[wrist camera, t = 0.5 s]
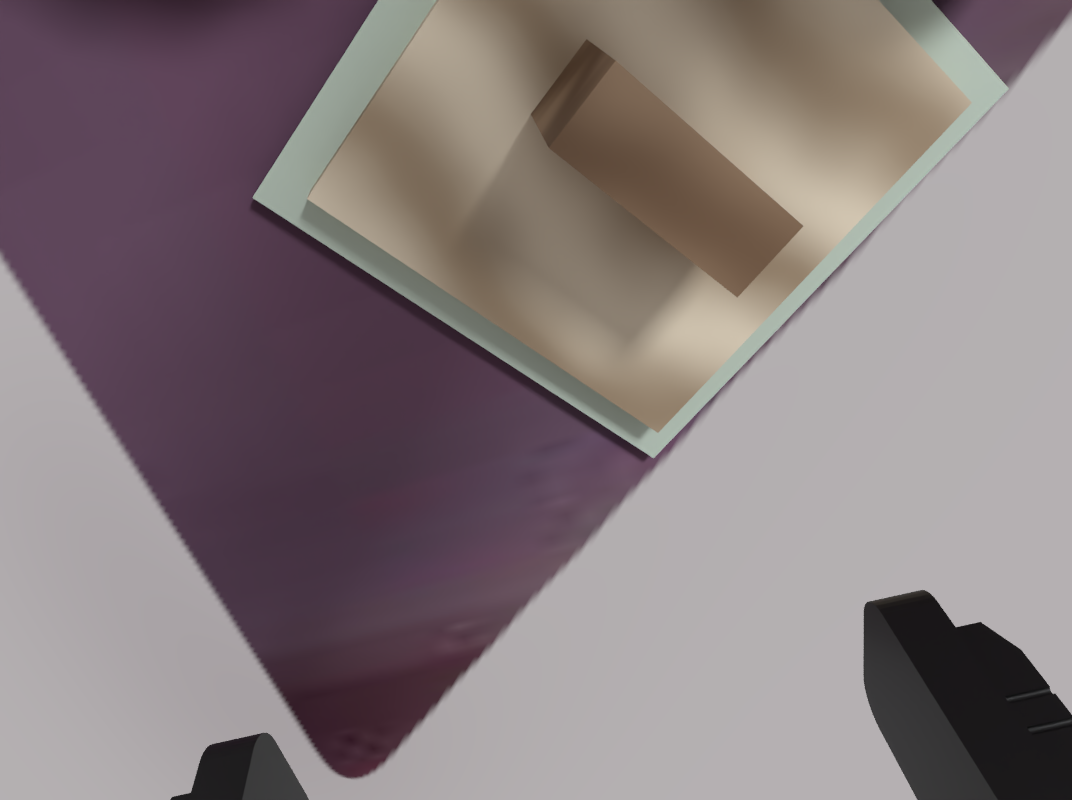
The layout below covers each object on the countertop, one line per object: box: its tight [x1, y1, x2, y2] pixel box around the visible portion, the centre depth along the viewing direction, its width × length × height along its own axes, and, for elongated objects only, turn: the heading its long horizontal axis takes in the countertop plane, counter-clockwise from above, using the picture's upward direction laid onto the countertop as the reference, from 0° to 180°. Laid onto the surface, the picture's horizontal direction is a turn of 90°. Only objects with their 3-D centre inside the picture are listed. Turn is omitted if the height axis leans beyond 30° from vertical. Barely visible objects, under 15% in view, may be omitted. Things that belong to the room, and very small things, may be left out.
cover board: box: [307, 0, 972, 433], centre depth 28 cm, size 17×17×6 cm
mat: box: [253, 0, 1009, 458], centre depth 31 cm, size 20×20×1 cm
